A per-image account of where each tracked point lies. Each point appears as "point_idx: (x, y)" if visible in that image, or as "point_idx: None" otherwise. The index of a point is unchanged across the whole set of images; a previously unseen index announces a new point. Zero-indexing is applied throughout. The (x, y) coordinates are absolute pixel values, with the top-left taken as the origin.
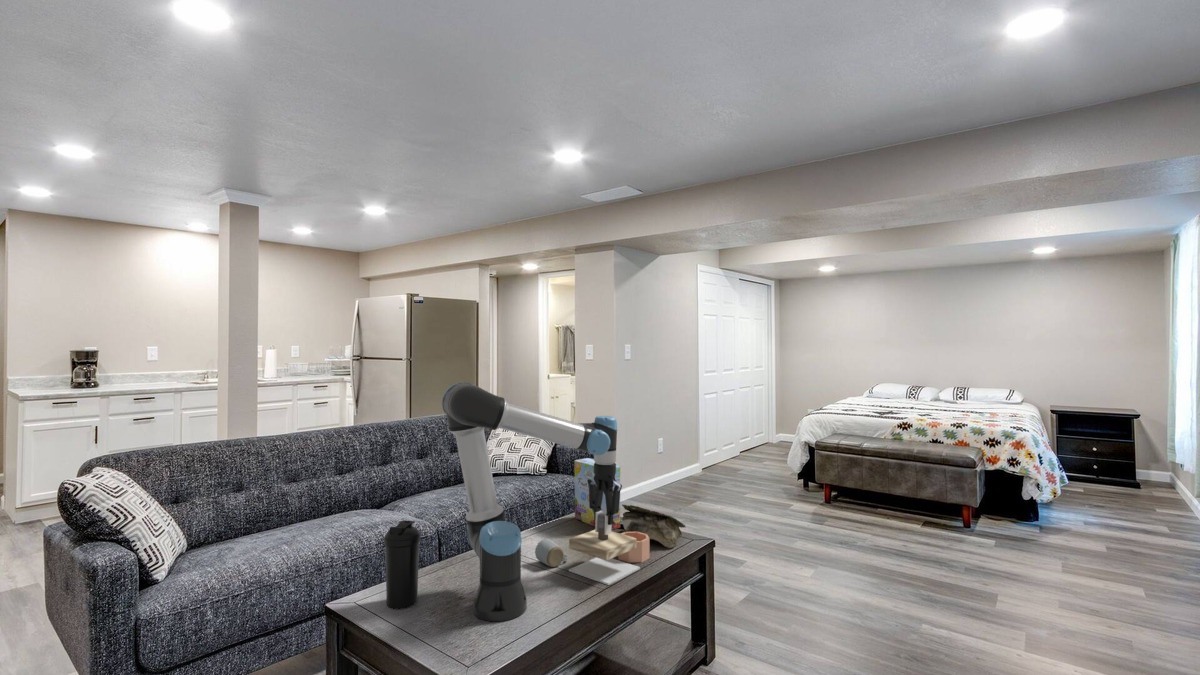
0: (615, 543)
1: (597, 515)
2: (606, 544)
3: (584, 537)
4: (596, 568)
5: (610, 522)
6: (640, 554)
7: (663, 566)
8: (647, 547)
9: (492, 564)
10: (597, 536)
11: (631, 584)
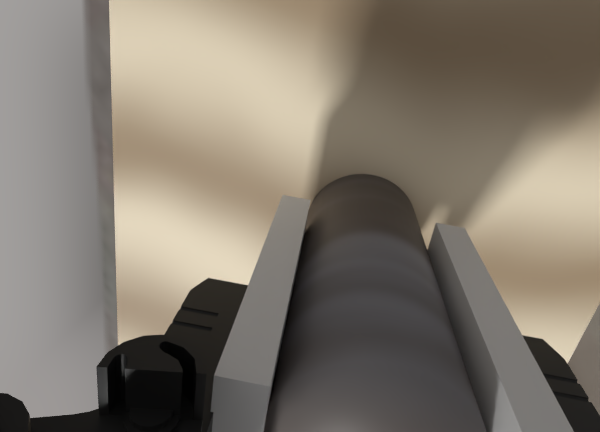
0: (174, 162)
1: (499, 387)
2: (229, 77)
3: (571, 141)
4: None
5: (184, 300)
6: None
7: (111, 336)
8: None
9: None
10: None
11: (98, 46)
